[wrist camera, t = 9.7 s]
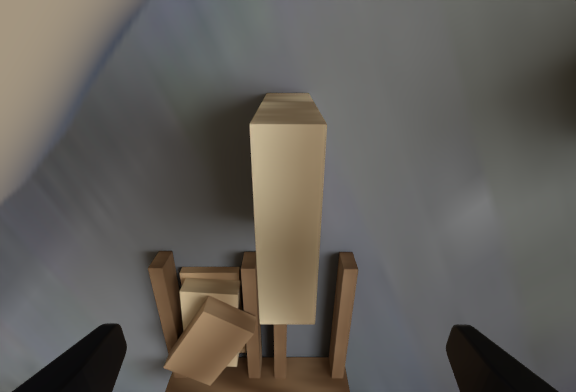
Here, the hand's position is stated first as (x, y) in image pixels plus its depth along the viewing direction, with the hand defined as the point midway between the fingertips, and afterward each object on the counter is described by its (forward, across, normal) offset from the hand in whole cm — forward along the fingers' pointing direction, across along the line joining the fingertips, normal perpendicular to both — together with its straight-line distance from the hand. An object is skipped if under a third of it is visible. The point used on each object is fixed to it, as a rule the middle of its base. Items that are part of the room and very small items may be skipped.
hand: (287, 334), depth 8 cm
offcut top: (+11, +6, +13) cm, 18 cm away
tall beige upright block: (+13, 0, 0) cm, 13 cm away
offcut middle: (+12, +6, +13) cm, 19 cm away
